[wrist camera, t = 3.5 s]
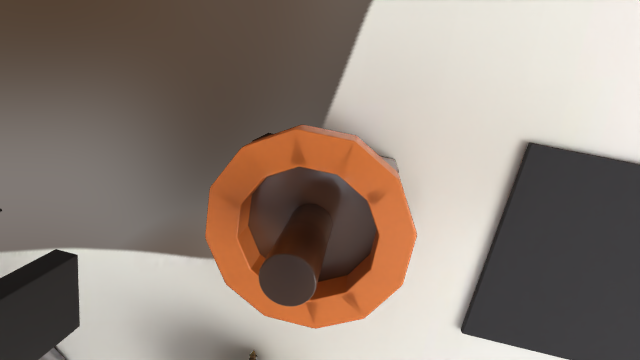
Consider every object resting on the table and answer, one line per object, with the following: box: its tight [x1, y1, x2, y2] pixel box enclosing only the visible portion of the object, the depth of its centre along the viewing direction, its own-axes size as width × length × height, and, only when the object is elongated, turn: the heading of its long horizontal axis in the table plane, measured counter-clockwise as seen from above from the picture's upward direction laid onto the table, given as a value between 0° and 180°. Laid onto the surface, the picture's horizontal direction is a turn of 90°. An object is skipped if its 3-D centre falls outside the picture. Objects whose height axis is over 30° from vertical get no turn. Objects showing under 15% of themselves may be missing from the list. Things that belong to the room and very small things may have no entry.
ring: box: [205, 125, 417, 329], centre depth 19 cm, size 11×11×2 cm
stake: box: [248, 133, 399, 307], centre depth 18 cm, size 8×8×9 cm
